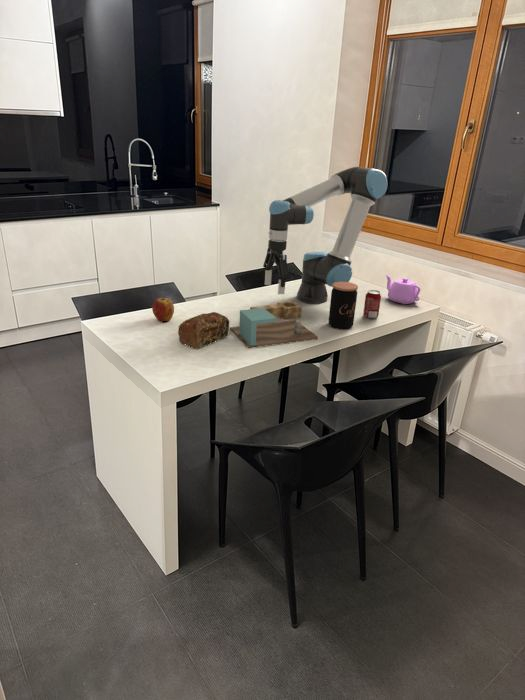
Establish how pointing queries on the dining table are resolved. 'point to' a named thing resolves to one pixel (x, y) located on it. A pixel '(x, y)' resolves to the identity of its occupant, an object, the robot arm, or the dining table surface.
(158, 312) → the apple
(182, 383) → the dining table surface
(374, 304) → the soda can
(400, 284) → the teapot
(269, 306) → the wooden square socket bar
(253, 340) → the block
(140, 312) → the dining table surface
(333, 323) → the coffee jar
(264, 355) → the dining table surface
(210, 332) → the bread
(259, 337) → the pintle board
